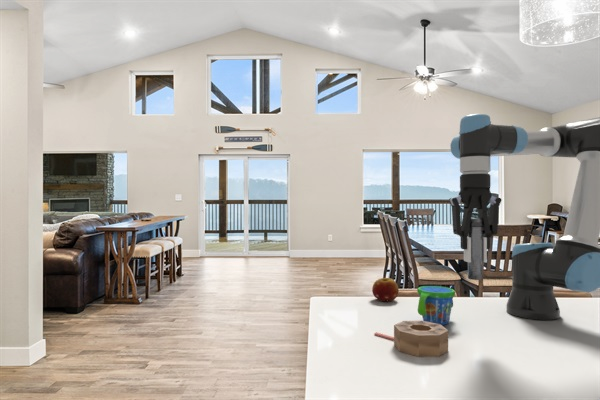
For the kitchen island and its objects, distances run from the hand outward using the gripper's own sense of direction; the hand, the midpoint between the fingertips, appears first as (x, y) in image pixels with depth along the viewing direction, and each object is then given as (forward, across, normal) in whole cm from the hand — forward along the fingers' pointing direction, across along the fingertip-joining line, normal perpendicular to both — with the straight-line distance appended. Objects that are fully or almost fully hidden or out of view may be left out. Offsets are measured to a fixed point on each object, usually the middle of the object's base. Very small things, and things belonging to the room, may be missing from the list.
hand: (475, 261), depth 110 cm
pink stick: (+21, +22, 0) cm, 30 cm away
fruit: (+21, +13, -44) cm, 50 cm away
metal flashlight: (+5, 0, 0) cm, 5 cm away
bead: (+21, +17, +6) cm, 27 cm away
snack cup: (+21, +5, -15) cm, 26 cm away
